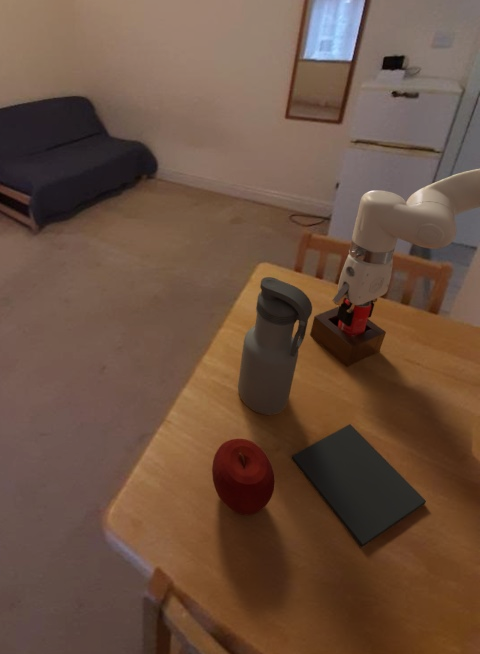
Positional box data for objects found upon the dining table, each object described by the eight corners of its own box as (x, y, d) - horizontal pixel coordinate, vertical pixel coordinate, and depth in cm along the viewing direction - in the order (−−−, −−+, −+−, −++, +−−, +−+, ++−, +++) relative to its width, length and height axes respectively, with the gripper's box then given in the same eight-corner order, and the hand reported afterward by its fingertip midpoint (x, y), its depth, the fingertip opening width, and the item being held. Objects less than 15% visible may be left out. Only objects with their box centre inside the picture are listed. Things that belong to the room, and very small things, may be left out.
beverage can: (338, 346, 91) (348, 305, 86) (333, 330, 96) (342, 290, 90) (363, 350, 90) (375, 308, 85) (357, 333, 94) (368, 292, 89)
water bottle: (296, 391, 83) (321, 284, 71) (279, 428, 76) (303, 316, 64) (249, 366, 89) (264, 263, 76) (229, 398, 82) (242, 290, 70)
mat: (349, 427, 76) (350, 423, 75) (424, 504, 64) (426, 501, 64) (291, 458, 71) (292, 455, 71) (361, 548, 60) (362, 544, 59)
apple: (279, 492, 67) (288, 456, 62) (252, 545, 60) (259, 509, 56) (228, 453, 73) (233, 417, 68) (198, 497, 66) (201, 461, 62)
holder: (341, 321, 100) (346, 303, 97) (379, 351, 91) (386, 332, 89) (310, 335, 96) (314, 316, 94) (346, 367, 88) (352, 347, 85)
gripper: (356, 271, 76) (339, 342, 84) (418, 248, 82) (396, 316, 90) (324, 251, 82) (311, 319, 90) (383, 231, 88) (366, 296, 96)
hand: (353, 317), depth 90 cm, fingers closed on beverage can, 5 cm apart
